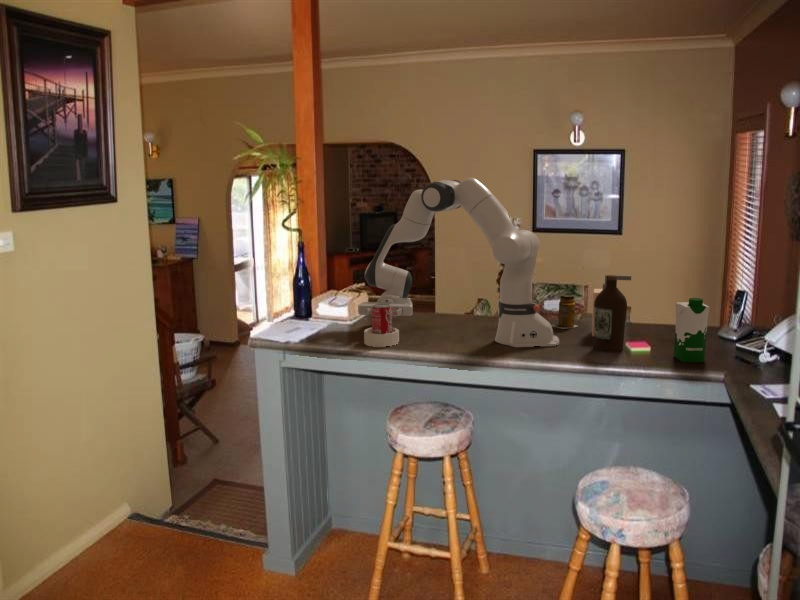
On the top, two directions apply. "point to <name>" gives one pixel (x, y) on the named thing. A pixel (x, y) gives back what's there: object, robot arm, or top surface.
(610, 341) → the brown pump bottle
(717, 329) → the top surface
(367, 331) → the bowl
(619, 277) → the soap dispenser
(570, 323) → the condiment
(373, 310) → the soda can
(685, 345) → the milk carton
